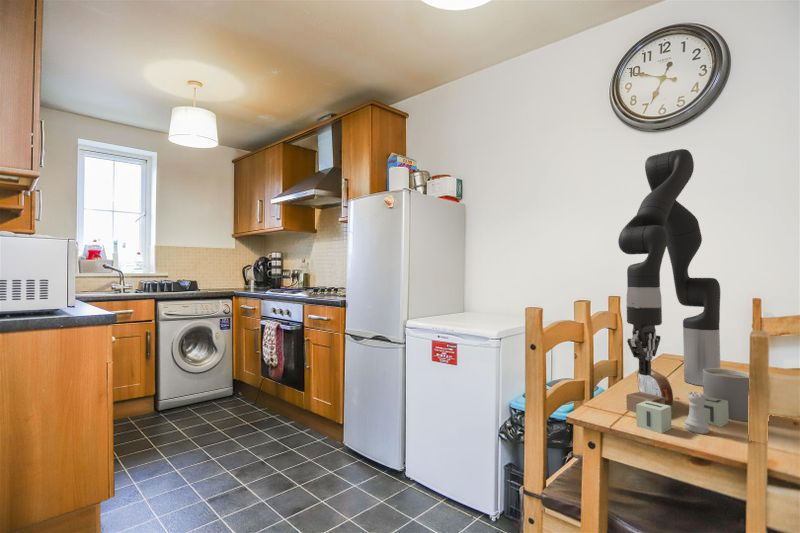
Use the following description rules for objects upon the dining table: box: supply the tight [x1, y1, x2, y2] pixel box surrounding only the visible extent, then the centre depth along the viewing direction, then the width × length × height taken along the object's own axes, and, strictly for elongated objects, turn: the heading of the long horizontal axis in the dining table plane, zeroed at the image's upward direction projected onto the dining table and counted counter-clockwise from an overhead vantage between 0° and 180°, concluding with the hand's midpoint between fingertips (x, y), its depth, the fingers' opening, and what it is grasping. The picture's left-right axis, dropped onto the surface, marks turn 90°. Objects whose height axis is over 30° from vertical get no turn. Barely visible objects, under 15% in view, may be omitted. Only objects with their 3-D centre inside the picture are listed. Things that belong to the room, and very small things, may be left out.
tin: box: [636, 368, 674, 407], centre depth 106 cm, size 15×3×8 cm, turn 171°
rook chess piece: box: [684, 391, 711, 435], centre depth 87 cm, size 4×4×8 cm
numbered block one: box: [635, 401, 672, 435], centre depth 89 cm, size 5×5×5 cm
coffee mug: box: [702, 367, 750, 422], centre depth 99 cm, size 13×10×10 cm
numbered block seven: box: [703, 396, 730, 428], centre depth 93 cm, size 5×5×5 cm
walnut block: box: [625, 391, 665, 414], centre depth 100 cm, size 6×6×4 cm
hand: (644, 374), depth 100 cm, fingers closed
